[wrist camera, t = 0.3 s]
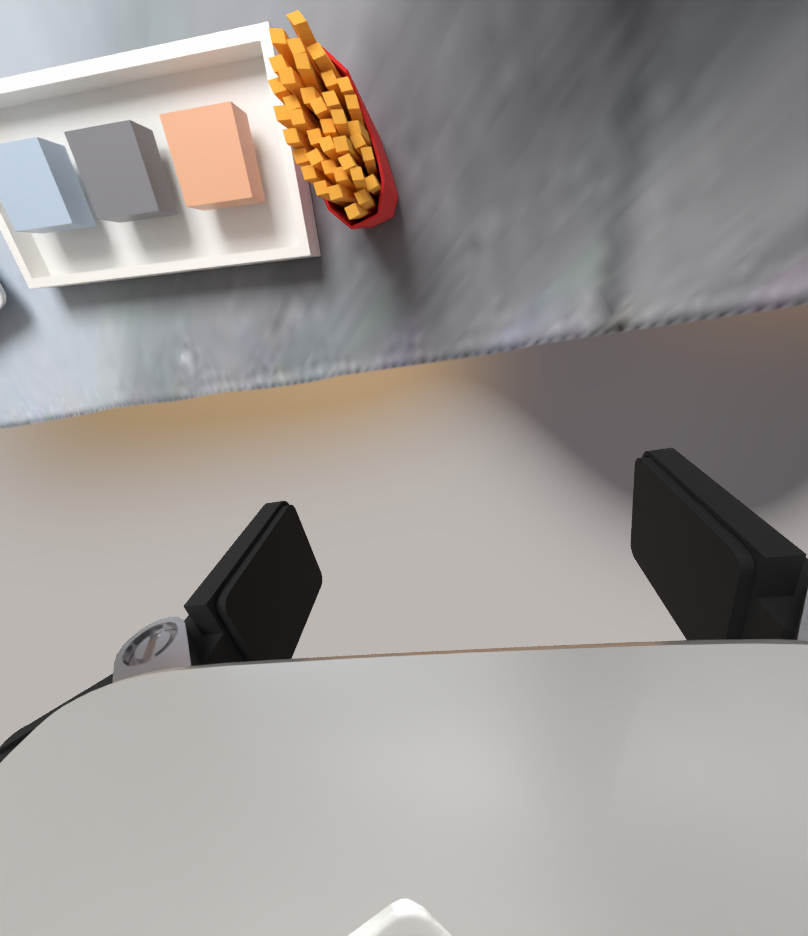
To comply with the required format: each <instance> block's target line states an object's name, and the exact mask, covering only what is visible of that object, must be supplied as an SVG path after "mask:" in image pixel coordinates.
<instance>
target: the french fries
mask: <svg viewBox="0 0 808 936" xmlns="http://www.w3.org/2000/svg"><path fill="white" fill-rule="evenodd" d="M287 17H288V19H289V21H290V23H291V25H292V27H293V28H294V30H295V32H296V34H297V36H298V38H292V39H289V37H288V36H287V34H286V32H285V31H284V29H278V28H269V33H270V37H271V42H272V44H273V45H274V47H275V48H276V50H277V51H278V53H279V54H280V55H277V56H273V57H270V58H268V59H269V61H270V64H271V66H272V68H273V71H274V73H275V74H276V75H278V76H279V77H277V78H274V79H270V80H267V81H268V83H269V85H270V87H271V89H272V91H273V94H274V95H275V96H276V97H277V98H278V99H279V100H280V101H281V102H282V103H283V104H284V105H279V106H273V108H274V112H275V115H276V119H277V121H278V122H279V123H281V124H282V125H283V126H285V127H286V128H288V129H282V130H283V133H284V137H285V141H286V144H288V145H289V146H291V147H292V148H294V149H295V150H292V152H293V156H294V159H295V162H296V164H298V165H300V166H302V167H301V170H302V173H303V177H304V180H306V181H308V182H310V183H312V184H314V188H315V191H316V194H317V196H319V197H322V198H323V199H324V201H325V203H326V206H327V208H328V210H329V211H330V212H331V213H333V214H334V215H335V216H336V217H337V218H339V219H340V220H341V221H342V222H343V223H345V224H346V225H347V226H348V227H349V228H351V229H359V228H371V227H374V226H376V225H378V224H380V223H382V222H384V221H387V220H389V219H391V218H393V216H394V212H395V208H396V205H397V201H398V197H399V196H398V193H397V189H396V186H395V182H394V179H393V175H392V172H391V169H390V165H389V162H388V159H387V156H386V153H385V150H384V148H383V145H382V142H381V139H380V137H379V134H378V132H377V130H376V128H375V126H374V124H373V122H372V120H371V118H370V115H369V113H368V111H367V109H366V107H365V105H364V103H363V101H362V99H361V97H360V95H359V93H358V90H357V88H356V86H355V84H354V82H353V80H352V78H351V76H350V74H349V72H348V70H347V69H346V68H345V67H344V66H343V65H342V64H341V63H339V62H338V61H337V60H336V59H335V58H334V57H333V56H332V55H331V54H330V53H329V52H328V51H326V50H325V49H324V48H323V47H322V46H321V45H320V43H319V42H316V40H315V38H314V36H313V34H312V32H311V30H310V27H309V25H308V23H307V21H306V20H305V18H304V17H303V16H302V14H301V13H300V12H299V11H295V12H292V13H290V14H287Z"/></svg>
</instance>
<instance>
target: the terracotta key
mask: <svg viewBox="0 0 808 936" xmlns="http://www.w3.org/2000/svg"><path fill="white" fill-rule="evenodd" d="M159 115H160V119H161V122H162V126H163V129H164V132H165V136H166V139H167V143H168V146H169V149H170V153H171V156H172V159H173V163H174V166H175V170H176V173H177V176H178V180H179V183H180V187H181V190H182V193H183V197H184V200H185V203H186V207H190V208H194V209H198V210H202V211H206V210H213V209H220V208H227V207H234V206H242V205H249V204H256V203H263V202H266V201H265V196H264V191H263V187H262V182H261V177H260V173H259V168H258V163H257V159H256V154H255V150H254V145H253V140H252V136H251V131H250V126H249V122H248V117H247V113H245V112H244V111H243V110H241V109H240V108H239V107H238V106H236V105H235V104H234V103H232V102H231V101H229V102H224V103H218V104H213V105H207V106H202V107H197V108H191V109H186V110H180V111H175V112H169V113H164V114H159Z"/></svg>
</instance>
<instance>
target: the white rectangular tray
mask: <svg viewBox="0 0 808 936" xmlns="http://www.w3.org/2000/svg"><path fill="white" fill-rule="evenodd" d="M269 28H273V27H272V26H271V25H270V23H269V22H264V23H259V24H255V25H250V26H245V27H241V28H236V29H231V30H226V31H222V32H217V33H212V34H208V35H203V36H198V37H193V38H189V39H184V40H179V41H175V42H170V43H165V44H161V45H156V46H151V47H146V48H142V49H137V50H132V51H128V52H123V53H118V54H113V55H109V56H104V57H99V58H95V59H90V60H85V61H81V62H76V63H71V64H66V65H62V66H57V67H52V68H48V69H43V70H38V71H33V72H29V73H24V74H19V75H15V76H10V77H5V78H1V79H0V144H1V143H6V142H12V141H17V140H23V139H28V138H34V137H39V138H42V139H45V140H48V141H51V142H54V143H57V144H60V145H64V146H65V148H66V150H67V153H68V155H69V158H70V160H71V163H72V166H73V168H74V171H75V173H76V176H77V178H78V181H79V183H80V186H81V189H82V191H83V194H84V196H85V199H86V201H87V204H88V206H89V209H90V211H91V214H92V217H93V219H94V222H95V224H96V226H94V227H87V228H80V229H73V230H65V231H58V232H51V233H44V234H38V233H27V232H16V231H15V230H14V227H13V225H12V223H11V221H10V219H9V217H8V215H7V213H6V211H5V209H4V206H3V204H2V202H1V200H0V230H1V232H2V234H3V236H4V238H5V240H6V242H7V244H8V246H9V248H10V250H11V252H12V254H13V256H14V258H15V260H16V262H17V264H18V266H19V268H20V270H21V272H22V274H23V276H24V279H25V281H26V283H27V285H28V287H29V289H34V288H56V287H66V286H74V285H83V284H91V283H100V282H108V281H117V280H125V279H133V278H142V277H150V276H159V275H167V274H176V273H184V272H193V271H201V270H210V269H218V268H227V267H235V266H243V265H252V264H260V263H269V262H277V261H286V260H294V259H303V258H311V257H320V256H321V253H320V247H319V241H318V235H317V229H316V223H315V217H314V212H313V206H312V200H311V194H310V188H309V182H308V181H306V180H304V177H303V173H302V170H301V167H302V166H300V165H298V164H296V162H295V159H294V156H293V152H292V150H295V149H294V148H292V147H291V146H289V145H288V144H286V141H285V137H284V133H283V130H282V129H288V128H286V127H285V126H283V125H282V124H281V123H279V122H278V121H277V119H276V115H275V112H274V108H273V106H279V105H284V104H283V103H282V102H281V101H280V100H279V99H278V98H277V97H276V96H275V95H274V94H273V91H272V89H271V87H270V85H269V83H268V81H267V80H270V79H274V78H277V77H279V76H278V75H276V74H275V73H274V71H273V68H272V66H271V64H270V61H269V59H268V58H270V57H273V56H277V55H280V54H279V53H278V51H277V50H276V48H275V47H274V45H273V44H272V42H271V37H270V33H269ZM229 101H231V102H232V103H234V104H235V105H236V106H238V107H239V108H240V109H241V110H243V111H244V112H245V113H247V117H248V122H249V126H250V131H251V136H252V140H253V145H254V150H255V154H256V159H257V163H258V168H259V173H260V177H261V182H262V187H263V191H264V196H265V201H266V202H263V203H256V204H249V205H242V206H234V207H227V208H220V209H213V210H206V211H202V210H198V209H194V208H190V207H186V203H185V200H184V197H183V193H182V190H181V187H180V183H179V180H178V176H177V173H176V170H175V166H174V163H173V159H172V156H171V153H170V149H169V146H168V143H167V139H166V136H165V132H164V129H163V126H162V122H161V119H160V115H159V114H164V113H169V112H175V111H180V110H186V109H191V108H197V107H202V106H207V105H213V104H218V103H224V102H229ZM126 120H131V121H133V122H136V123H138V124H140V125H142V126H144V127H146V128H148V129H151V130H152V131H153V134H154V137H155V141H156V144H157V147H158V150H159V154H160V157H161V160H162V163H163V167H164V170H165V173H166V177H167V180H168V183H169V186H170V190H171V193H172V196H173V199H174V203H175V206H176V209H177V212H178V215H171V216H164V217H157V218H150V219H143V220H136V221H129V222H122V223H119V222H112V221H105V220H98V219H97V216H96V213H95V211H94V208H93V206H92V203H91V201H90V198H89V195H88V193H87V190H86V188H85V185H84V183H83V180H82V177H81V175H80V172H79V170H78V167H77V164H76V162H75V159H74V157H73V154H72V152H71V149H70V146H69V144H68V141H67V139H66V136H65V134H64V132H66V131H72V130H77V129H82V128H88V127H93V126H99V125H104V124H110V123H115V122H120V121H126Z"/></svg>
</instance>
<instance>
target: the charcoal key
mask: <svg viewBox="0 0 808 936" xmlns="http://www.w3.org/2000/svg"><path fill="white" fill-rule="evenodd" d="M64 134H65V136H66V139H67V141H68V144H69V146H70V149H71V152H72V154H73V157H74V159H75V162H76V164H77V167H78V170H79V172H80V175H81V177H82V180H83V183H84V185H85V188H86V190H87V193H88V195H89V198H90V201H91V203H92V206H93V208H94V211H95V213H96V216H97V219H98V220H105V221H112V222H119V223H122V222H129V221H136V220H143V219H150V218H157V217H164V216H171V215H178V212H177V209H176V206H175V203H174V199H173V196H172V193H171V190H170V186H169V183H168V180H167V177H166V173H165V170H164V167H163V163H162V160H161V157H160V154H159V150H158V147H157V144H156V141H155V137H154V134H153V131H152V130H151V129H148V128H146V127H144V126H142V125H140V124H138V123H136V122H133V121H131V120H126V121H120V122H115V123H110V124H104V125H99V126H93V127H88V128H82V129H77V130H72V131H66V132H64Z"/></svg>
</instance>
